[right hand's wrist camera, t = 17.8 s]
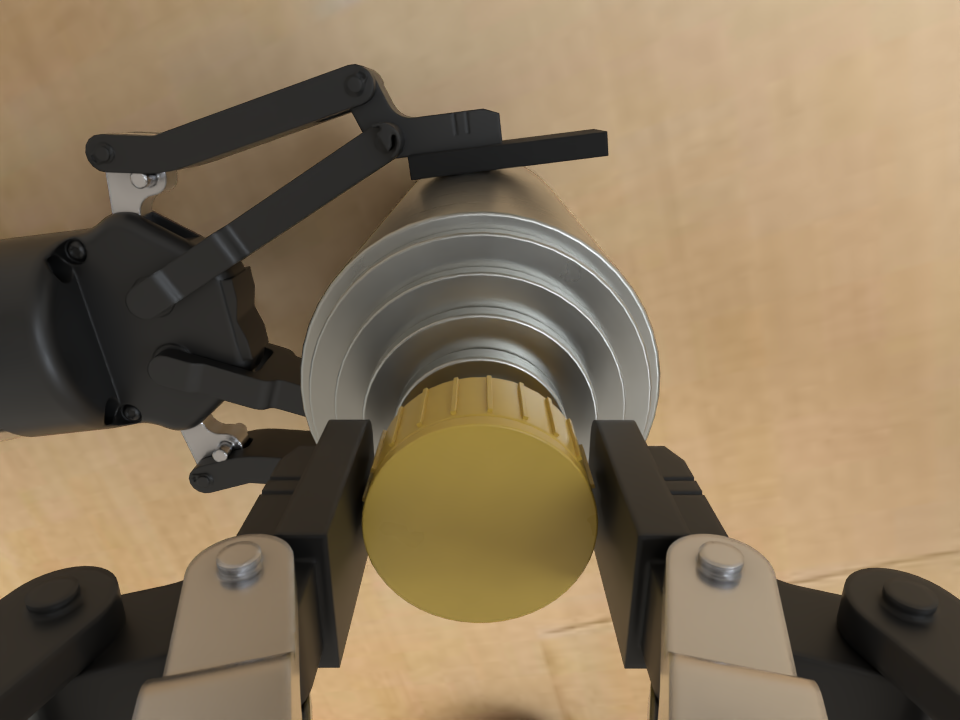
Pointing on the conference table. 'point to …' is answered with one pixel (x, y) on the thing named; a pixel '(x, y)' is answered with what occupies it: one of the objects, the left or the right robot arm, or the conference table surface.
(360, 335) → the bottle
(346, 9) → the conference table surface
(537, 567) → the cap
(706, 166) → the conference table surface
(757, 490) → the conference table surface
